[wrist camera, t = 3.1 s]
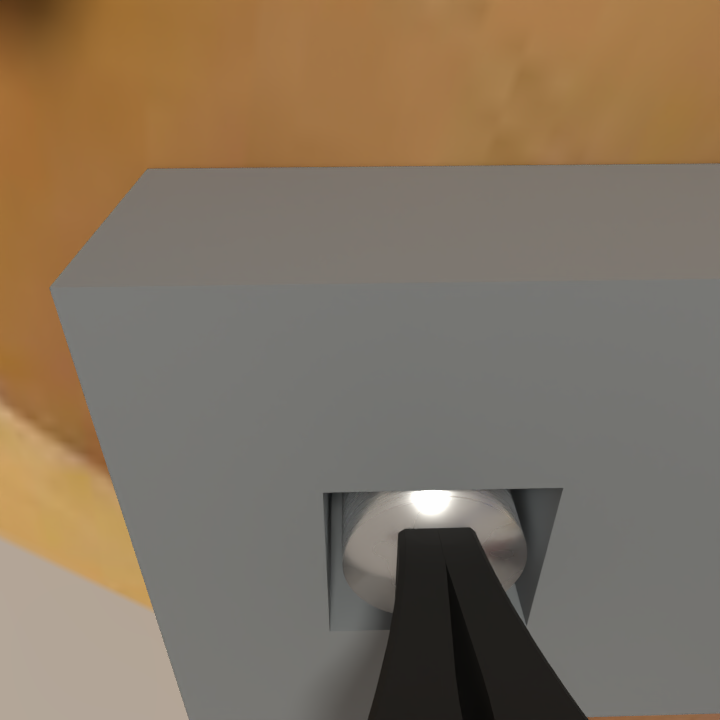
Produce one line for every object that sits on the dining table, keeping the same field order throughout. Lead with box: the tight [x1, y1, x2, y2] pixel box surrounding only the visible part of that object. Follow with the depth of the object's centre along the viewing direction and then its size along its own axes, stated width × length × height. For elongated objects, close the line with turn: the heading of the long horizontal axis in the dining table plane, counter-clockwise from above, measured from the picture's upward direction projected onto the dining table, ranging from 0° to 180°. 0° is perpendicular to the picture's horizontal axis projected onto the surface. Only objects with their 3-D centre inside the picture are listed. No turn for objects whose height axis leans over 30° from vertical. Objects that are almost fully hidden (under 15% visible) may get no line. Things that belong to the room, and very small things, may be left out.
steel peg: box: [342, 489, 527, 613], centre depth 14 cm, size 4×4×5 cm
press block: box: [50, 164, 720, 720], centre depth 14 cm, size 22×12×5 cm, turn 90°
